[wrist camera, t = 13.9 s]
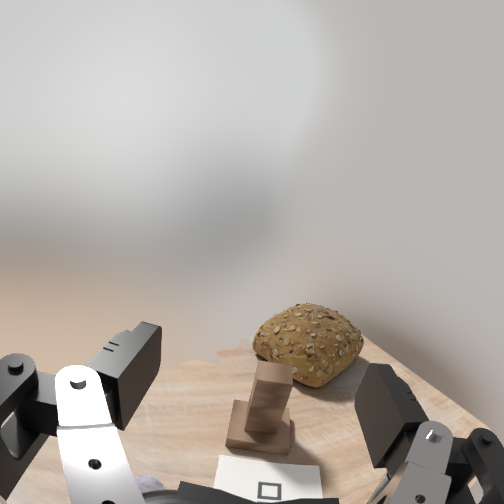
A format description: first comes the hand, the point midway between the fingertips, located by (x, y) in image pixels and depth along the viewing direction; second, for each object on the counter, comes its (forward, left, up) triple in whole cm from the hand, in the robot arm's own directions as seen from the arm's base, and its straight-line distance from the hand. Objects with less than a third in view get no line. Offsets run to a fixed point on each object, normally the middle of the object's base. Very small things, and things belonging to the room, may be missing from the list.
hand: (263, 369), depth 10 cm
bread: (+14, +49, -28) cm, 58 cm away
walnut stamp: (+4, +24, -28) cm, 37 cm away
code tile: (+6, +10, -28) cm, 30 cm away
